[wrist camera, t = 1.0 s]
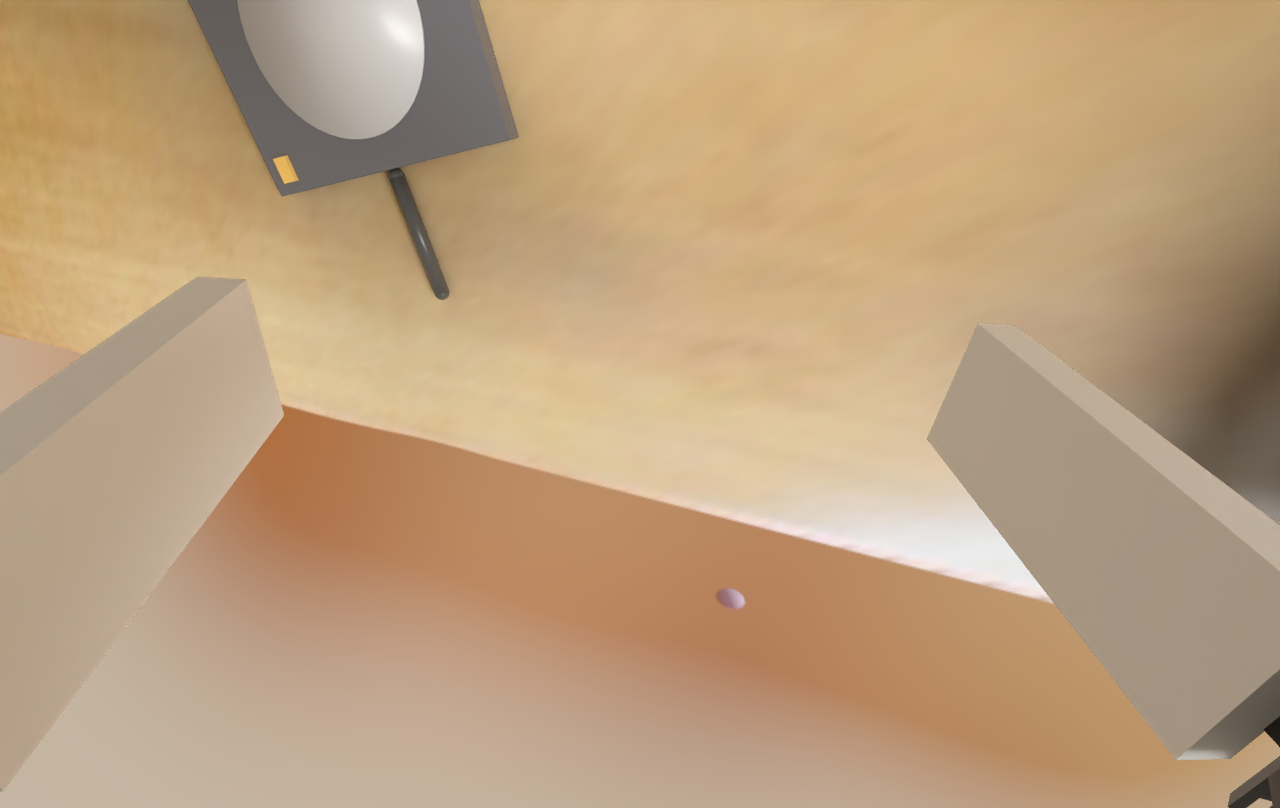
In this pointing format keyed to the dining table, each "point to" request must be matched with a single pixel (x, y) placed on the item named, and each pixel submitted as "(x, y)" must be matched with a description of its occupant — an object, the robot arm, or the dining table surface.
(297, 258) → the dining table surface
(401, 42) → the warming pad
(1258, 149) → the dining table surface
